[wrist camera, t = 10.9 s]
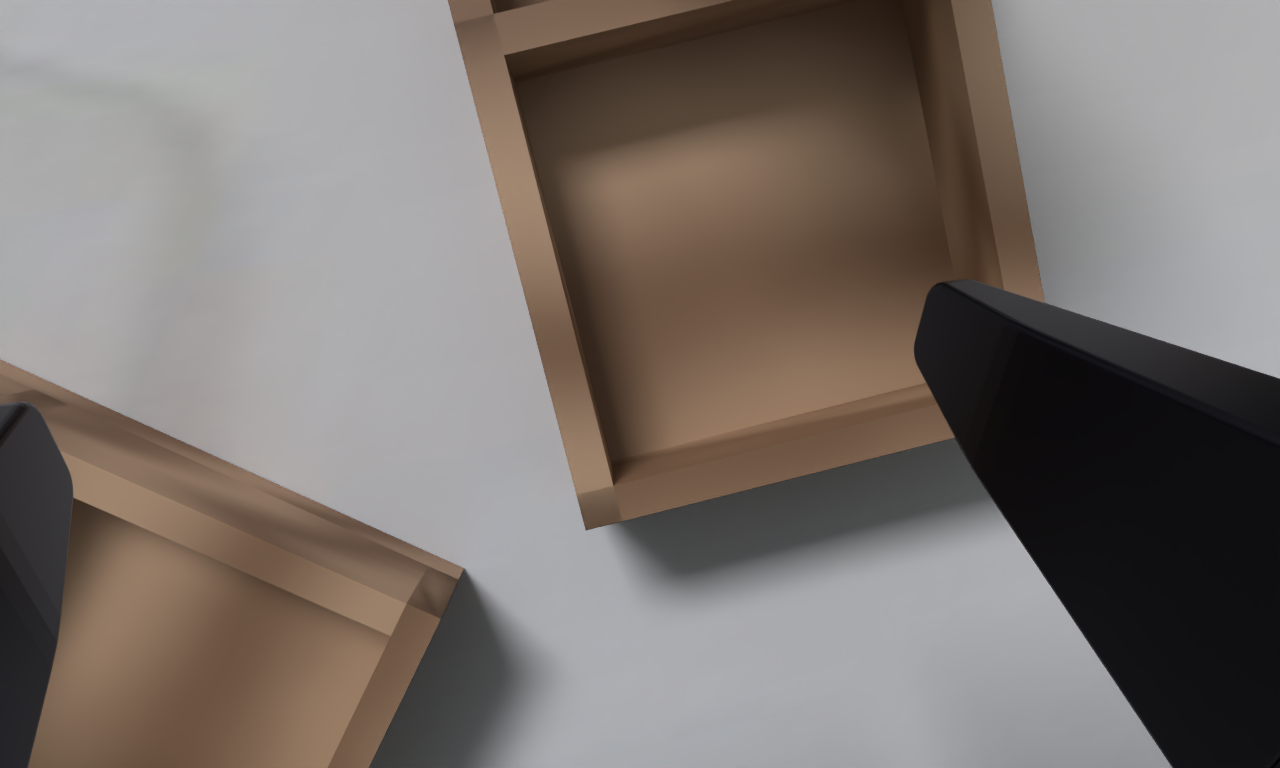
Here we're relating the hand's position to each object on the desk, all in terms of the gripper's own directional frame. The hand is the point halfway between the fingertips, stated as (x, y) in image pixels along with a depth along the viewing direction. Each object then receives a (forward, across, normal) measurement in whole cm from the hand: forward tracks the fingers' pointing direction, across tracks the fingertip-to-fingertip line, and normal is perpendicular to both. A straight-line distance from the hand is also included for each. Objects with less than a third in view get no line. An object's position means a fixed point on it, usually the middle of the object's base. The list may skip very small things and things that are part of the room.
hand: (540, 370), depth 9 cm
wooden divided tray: (+13, -6, 0) cm, 14 cm away
